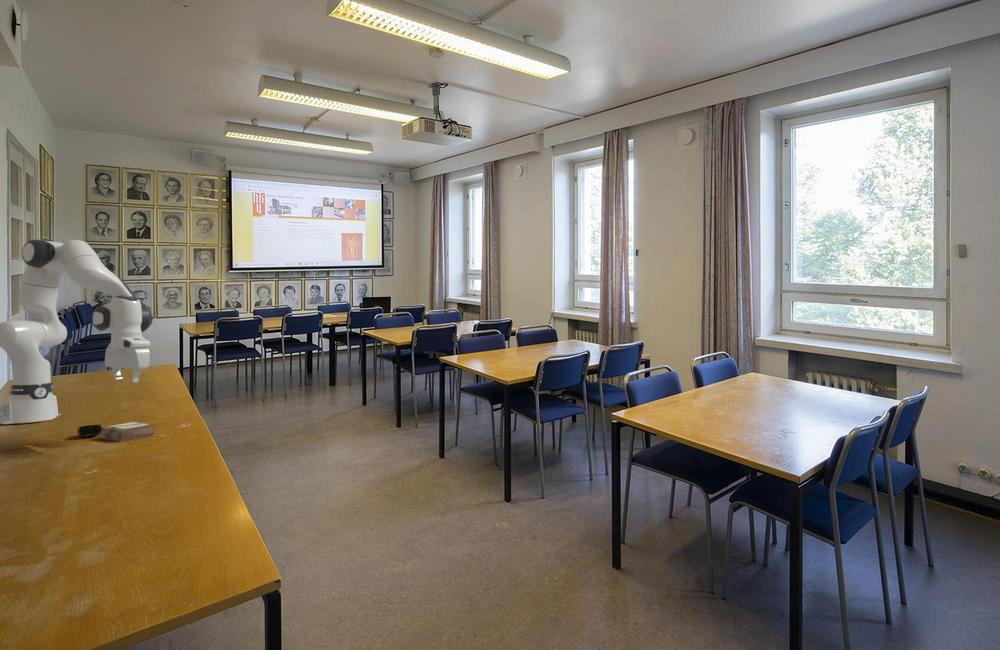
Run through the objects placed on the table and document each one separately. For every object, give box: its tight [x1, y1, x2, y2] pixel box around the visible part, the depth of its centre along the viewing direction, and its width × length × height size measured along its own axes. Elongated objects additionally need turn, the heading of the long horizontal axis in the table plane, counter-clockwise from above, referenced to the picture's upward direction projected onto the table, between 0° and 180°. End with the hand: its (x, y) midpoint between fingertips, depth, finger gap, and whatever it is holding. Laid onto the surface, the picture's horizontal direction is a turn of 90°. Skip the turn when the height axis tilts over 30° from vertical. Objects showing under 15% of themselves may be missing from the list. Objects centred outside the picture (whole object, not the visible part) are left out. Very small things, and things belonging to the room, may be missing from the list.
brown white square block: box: [101, 421, 155, 443], centre depth 187 cm, size 11×11×4 cm
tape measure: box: [77, 424, 103, 438], centre depth 187 cm, size 7×7×4 cm
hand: (126, 381), depth 186 cm, fingers open, 8 cm apart
